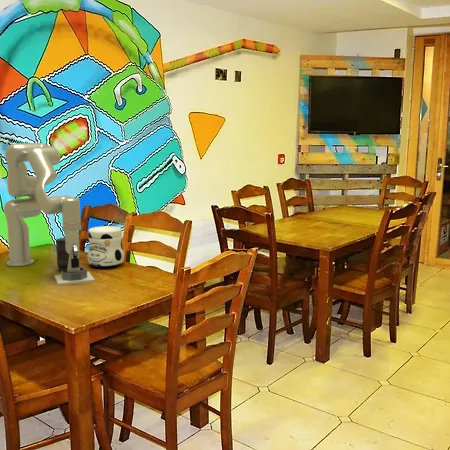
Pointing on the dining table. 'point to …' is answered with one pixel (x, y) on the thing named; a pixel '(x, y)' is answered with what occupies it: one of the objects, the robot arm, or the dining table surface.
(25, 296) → the dining table surface
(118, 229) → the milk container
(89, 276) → the holder board
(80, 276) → the holder ring
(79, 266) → the salt shaker
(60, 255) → the camera lens
